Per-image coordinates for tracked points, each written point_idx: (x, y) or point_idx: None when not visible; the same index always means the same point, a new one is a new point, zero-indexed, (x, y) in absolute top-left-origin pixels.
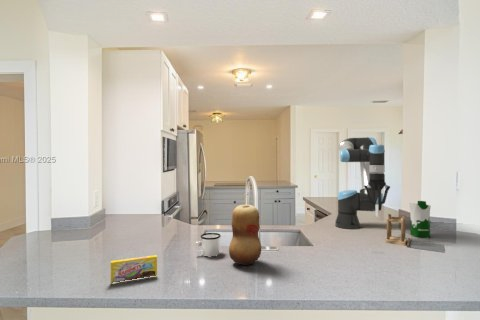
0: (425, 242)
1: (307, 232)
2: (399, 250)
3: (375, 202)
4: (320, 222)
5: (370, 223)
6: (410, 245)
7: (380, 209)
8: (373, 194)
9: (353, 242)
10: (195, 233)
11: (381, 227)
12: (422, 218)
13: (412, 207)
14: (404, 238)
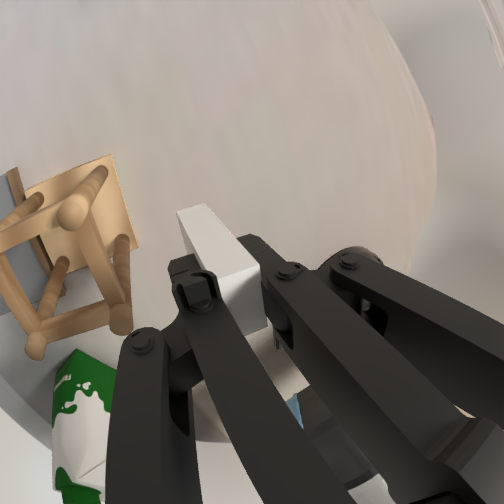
0: None
1: (415, 103)
2: (25, 85)
3: (275, 292)
4: (409, 261)
5: (285, 377)
6: (15, 204)
7: (173, 268)
8: (416, 382)
9: (244, 45)
10: (485, 14)
11: None
12: (57, 425)
13: None
14: (57, 258)
